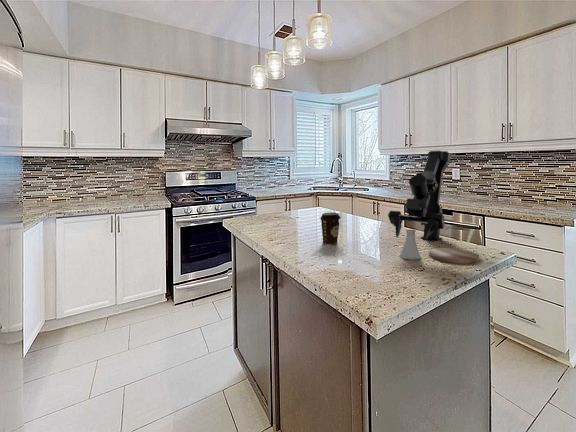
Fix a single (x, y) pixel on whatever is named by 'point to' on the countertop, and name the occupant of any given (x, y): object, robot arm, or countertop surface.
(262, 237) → the countertop surface
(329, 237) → the coffee cup
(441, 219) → the robot arm
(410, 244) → the flask
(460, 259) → the walnut board
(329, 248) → the countertop surface
